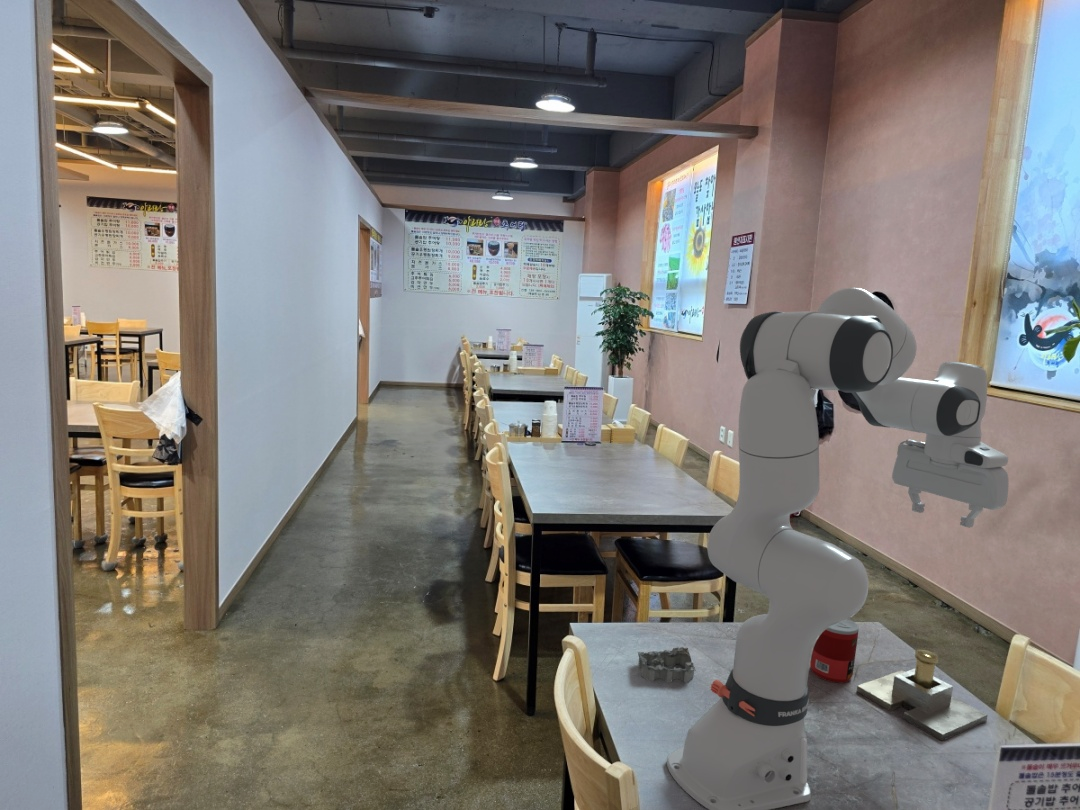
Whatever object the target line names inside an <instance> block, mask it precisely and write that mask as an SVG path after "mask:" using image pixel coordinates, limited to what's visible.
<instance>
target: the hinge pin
mask: <svg viewBox="0 0 1080 810" xmlns="http://www.w3.org/2000/svg"><path fill="white" fill-rule="evenodd" d="M914 653H915V654H914V657H915V659H916V661H915V662H916V664H915V668H914V669H915V675H914V683H916V684H918V685H920V686H922V687H924V688H926V689H931V688H932V682H933V676H935V675H934V674H935V667H936V665H937V664H938V663H939V658H940V657H939V656H938V654H936V653H934V652H932V651H930V650H925V649H916V650H915V652H914Z"/></svg>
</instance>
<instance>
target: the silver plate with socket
mask: <svg viewBox="0 0 1080 810" xmlns="http://www.w3.org/2000/svg"><path fill="white" fill-rule="evenodd" d="M914 675H915V668H912V669H909V670H907V671H905V670H902V669H901V670H898V671H896V672H893V673H890V674H886V675H885V676H881V677H878V678H875V679H873V680H870V681H869V680H868V681H866V682H863V683H861V684H858V685H857V687H856V692H857V693H859V694H861V695H862V696H864V697H866V698H867V699H869V700H871V701H873V702H874V703H876V704H878V705H879V706H881V707H882V708H884V709H886V710H888V711H890V712H892V711H894V710H896V709H899V708H901V707H902V708H904V709H906V710H907V711H905V712H904V713H903V719H904V720H905V721H907V722H909V723H910V724H911V725H913V726H915V727H917V728H919V729H920V730H922V731H924V732H926V733H927V734H929V735H931V736H932V737H934V738H936V739H937V740H939V741H941V742H942V741H944V740H947V739H950V738H951V737H954V736H955V735H958V734H960V733H963V732H965V731H967V730H969V729H971V728H973V727H976V726H978V725H981V724H983V723H985V722H987V721H988V713H985V712H983V711H981V710H979V709H977V708H975V707H973V706H972V705H970V704H968V703H967V702H964V701H962V700H960V699H959V698H956V697H954V696H953V689H954V685H951V684H949V683H947V682H945V681H944V680H941V679H939V678H938V677H935V675H933V682H932V688H931V689H926V688H924V687H922V686H920V685H918V684H916V683H914Z"/></svg>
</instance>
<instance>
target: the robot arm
mask: <svg viewBox="0 0 1080 810" xmlns="http://www.w3.org/2000/svg"><path fill="white" fill-rule="evenodd" d="M817 309H818V310H817V311H805V310H804V311H788V312H787V311H786V312H783V311H778V310H775V311H770V312H764V313H761V314H757V315H756V316H753V318H751V319H750V320H749V322H748V323H747V324H746V326H745V328H744V329H743V332H742V334H741V337H740V341H739V355H740V360H741V361H740V362H741V364H742V367H743V372H744V374H745V377H746V378H747V380H746V383H745V384H744V386H743V388H742V391H741V399H740V403H739V404H740V406H739V412H738V413H739V415H738V434H737V435H738V456H739V457H738V458H739V459H738V460H739V464H738V465H739V467H738V468H739V489H738V496H737V499H736V503H735V504H734V507H733V509H732V510H731V511H730V513H728V514H726V515H725V516H722V518H720V519H719V520H718V521H717V522H716V523H715V524H714V525H713V527H712V528H711V531H710V532H709V535H708V538H707V548H706V549H707V555H708V556H707V557H708V559H709V561H710V563H711V564H712V566H714V567H715V568H716V569H717V570H719V571H720V572H721V573H723V574H724V575H725V576H727V577H728V578H729V579H730V580H732V582H735V583H737V584H740V585H741V586H744V587H746V588H749V589H750V590H751V591H752V590H753V591H754V592H757V593H759V594H761V595H764V596H765V597H766V598H767V599H768V601H769V602H768V603H769V607H768V611H767V613H763V614H758V615H757V614H756V615H754V616H751V617H749V618H747V619H746V620H745V621H744V622H743V623H742V624H741V625H740V627H739V628H738V630H737V632H736V639H735V648H734V658H733V666H732V667H733V668H732V669H731V671H730V673H729V675H728V677H727V680H726V682H725V684H723V682H721V680H718V679H715V680H713V682H712V683H711V686H710V691H711V692H712V693H714V694H715V695H717V696H718V697H719V699H718V700H717V701H716V702H715V703H714V704H713V705H712V706H711V707H710V708H709V709H708V710H707V711H706V712H705V713H704V714H703V715H702V716H701V717H700V718H699V719H698V720H697V721H696V722H695V723H694V724H693V725H692V726H691V727H690V728H689V729H688V732H687V734H686V737H685V739H684V745H682V746H681V747H679V748H678V749H676V750H674V751H673V752H671V753H669V754H668V756H667V758H666V766H667V769H668V771H669V773H670V775H671V776H672V778H673V779H674V780H675V782H677V784H678V785H679V786H680V787H681V788H682V790H683V791H684V792H686V793H687V794H688V795H689V796H691V798H693V799H694V801H696V802H698V803H699V804H700V805H701V806H703V807H705V808H706V809H708V810H774V809H778V808H783V807H784V808H785V807H786V806H787V807H789V806H792V805H793V806H794V805H798V804H803V803H806V802H807V803H808V802H809V801H810V800H811V796H812V795H811V794H812V793H811V788H810V786H809V784H808V739H807V734H806V728H805V727H806V726H805V717H806V716H807V713H808V707H809V704H810V699H809V695H810V694H809V693H810V692H809V691H810V690H809V687H808V679H809V671H810V668H811V666H810V662H811V657H812V652H813V648H814V646H815V643H816V641H817V639H818V638H819V636H820V635H821V634H822V632H823V631H825V630H826V629H827V628H828V627H830V626H832V625H834V624H836V623H840V622H843V621H845V620H848V619H851V618H852V617H854V616H855V615H857V614H858V613H859V612H860V610H861V609H862V608H863V606H864V605H865V603H866V600H867V597H868V593H869V584H870V583H869V577H868V573H867V569H866V567H865V566H864V563H863V562H862V561H861V560H860V559H858V558H857V557H855V556H854V555H852V554H850V553H849V552H847V551H845V550H844V549H842V548H840V547H839V546H837V545H835V544H834V543H832V542H829V541H825V540H822V539H820V538H818V537H814V536H812V535H809V534H806V533H803V532H800V531H798V530H795V529H794V528H793V527H792V525H791V523H790V516H791V515H792V514H796V513H798V512H801V511H803V510H805V509H806V508H808V507H810V506H811V505H812V504H813V503H814V502H815V500H816V499H817V497H818V495H819V492H820V489H821V488H820V487H821V486H820V483H821V482H820V443H819V441H820V439H819V427H818V425H819V423H818V417H817V410H816V405H815V400H814V398H815V395H816V394H817V390H822V391H826V390H827V391H840V392H843V393H849V394H850V393H851V394H852V395H853V397H854V398H855V400H856V401H857V403H858V406H859V409H860V412H861V415H862V416H863V418H864V419H865V420H866V422H867V423H868V424H870V425H871V426H873V427H882V428H892V429H898V430H903V431H909V432H913V433H914V432H915V433H922V434H926V436H925V442H922V441H916V440H913V439H905V440H903V441H901V442H899V444H898V446H897V454H896V455H897V456H896V459H895V462H894V465H893V468H892V475H891V478H892V481H893V483H894V484H895V485H898V486H902V487H906V488H908V491H907V493H908V497H909V498H910V500H911V503H912V505H911V511H912V512H915V513H918V514H921V513H924V511H925V507H926V503H924V502H922V500H921V498H920V494H921V493H922V492H925V493H929V494H931V495H936V496H939V497H943V498H947V499H950V500H954V501H957V502H962V503H965V504H968V510H969V511H970V512H969V513H968V514H967V515H963V516H960V522H959V523H960V524H959V525H960V526H962V527H965V528H968V529H969V528H970V529H971V528H973V527H974V524H975V519H976V518H977V517H978V515H980V514H981V512H983V510H984V509H986V510H990V511H991V510H992V511H994V510H999V509H1002V508H1004V507H1005V506H1006V504H1007V502H1008V496H1009V495H1008V494H1009V474H1008V471H1006V469H1005V468H1003V467H1005V466H1007V465H1008V462H1009V457H1008V455H1006V453H1004V452H1002V451H999V450H997V449H995V448H993V447H991V446H990V445H988V444H986V443H984V442H983V441H981V440H982V430H981V429H982V428H981V425H982V424H981V423H982V421H983V417H984V416H985V414H986V407H987V400H988V398H987V397H988V373H987V371H986V369H984V368H983V367H981V366H979V365H976V364H972V363H966V362H957V361H949V362H948V361H946V362H943V363H941V364H940V365H939V367H938V371H937V372H936V373H937V374H936V377H935V378H934V379H932V380H928V379H926V380H925V379H919V378H918V379H917V378H909V377H903V375H905V373H906V372H908V370H909V369H910V368H911V366H912V365H913V362H914V361H915V358H916V355H917V349H918V348H917V347H918V345H917V340H916V337H915V335H914V333H913V331H912V330H911V327H910V326H909V325H908V324H907V323H906V322H905V320H903V318H902V317H901V316H900V315H899V314H898V313H897V311H895V310H894V309H893V308H892V307H891V306H890V305H888V304H887V303H886V302H884V301H883V300H882V299H880V298H879V297H878V296H877V295H875V294H873V293H872V292H870V291H868V290H866V289H863V288H861V287H846V288H842V289H839V290H837V291H834V292H833V293H831V294H829V296H827V297H826V298H825V299H824V300H823V301H822V303H821V304H820V305H819V307H818V308H817Z"/></svg>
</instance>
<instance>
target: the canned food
mask: <svg viewBox="0 0 1080 810" xmlns="http://www.w3.org/2000/svg"><path fill="white" fill-rule="evenodd" d="M859 630H860V629H859V625H858V623H856V622H855V621H853V620H852V619H851V618H849V619H848V620H845V621H843V622H840V623H836V624H834V625H832V626H830V627H828V628H827V629H826V630H825V631H823V632H822V634H821V635H820V636H819V638H818V639H817V641H816V643H815V646H814V648H813V652H812V657H811V662H810V669H811V672H812V673H813V674H814V675H815V676H817V677H818V678H820V679H822V680H824V681H828V682H832V683H837V684H841V683H843V684H844V683H848V682H849V681H851V679H852V677H853V675H854V669H855V668H854V667H855V661H856V655H857V654H856V652H857V647H858V646H857V645H858V638H859Z"/></svg>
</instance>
